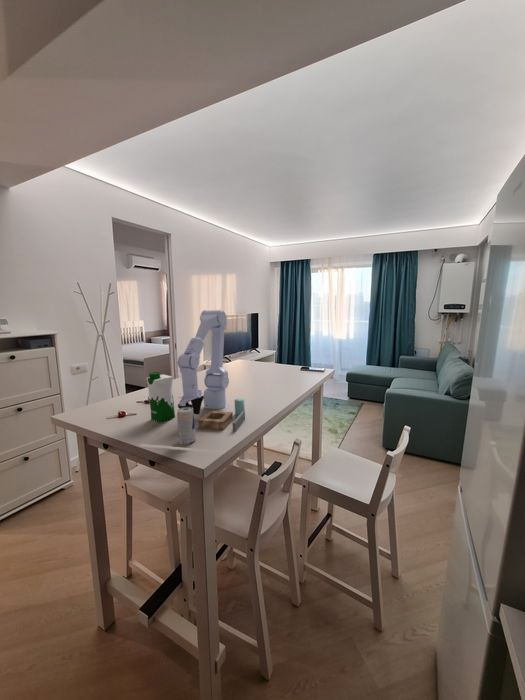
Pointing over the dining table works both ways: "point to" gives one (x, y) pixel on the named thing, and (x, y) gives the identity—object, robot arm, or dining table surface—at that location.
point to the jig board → (238, 421)
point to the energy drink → (186, 425)
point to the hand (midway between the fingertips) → (192, 417)
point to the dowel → (239, 406)
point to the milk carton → (161, 397)
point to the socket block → (216, 420)
